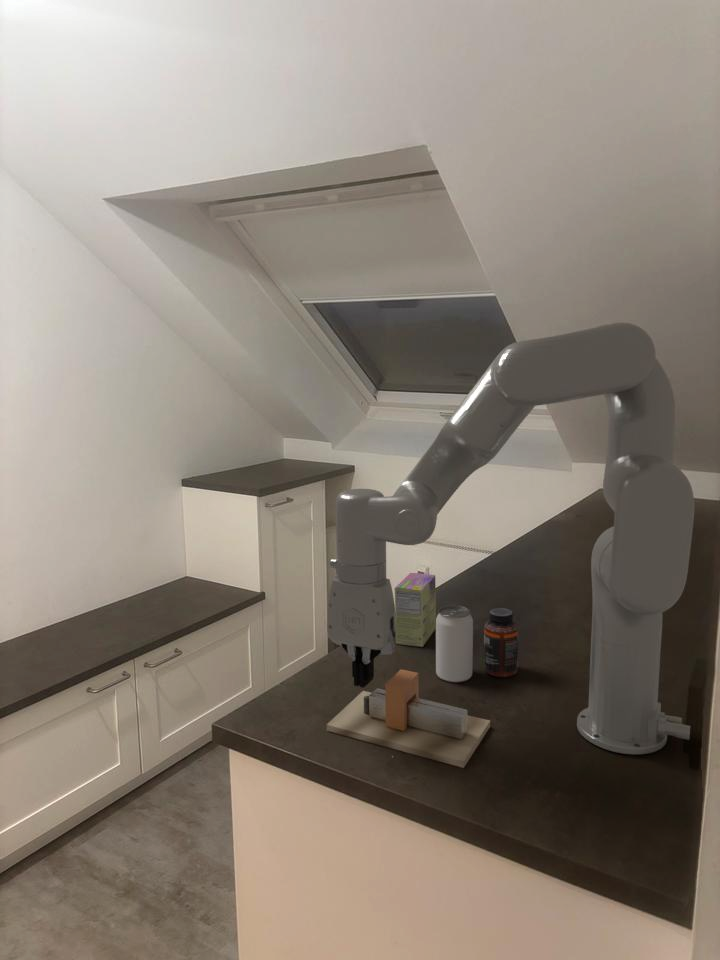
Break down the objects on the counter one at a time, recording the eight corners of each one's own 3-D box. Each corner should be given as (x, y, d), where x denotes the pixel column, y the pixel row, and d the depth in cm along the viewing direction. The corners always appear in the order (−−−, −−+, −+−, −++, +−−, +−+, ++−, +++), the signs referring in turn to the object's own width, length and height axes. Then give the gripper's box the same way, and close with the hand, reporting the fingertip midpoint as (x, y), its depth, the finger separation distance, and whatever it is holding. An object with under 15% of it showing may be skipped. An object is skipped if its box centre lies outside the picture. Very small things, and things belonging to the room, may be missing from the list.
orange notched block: (385, 726, 103) (385, 684, 102) (401, 709, 108) (400, 669, 107) (403, 730, 102) (403, 688, 101) (418, 713, 107) (418, 672, 106)
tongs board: (326, 730, 105) (326, 709, 104) (363, 696, 115) (362, 676, 115) (463, 768, 95) (463, 744, 94) (490, 726, 105) (490, 705, 104)
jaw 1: (369, 716, 106) (369, 695, 106) (372, 712, 107) (372, 692, 107) (461, 739, 99) (461, 717, 99) (464, 735, 100) (464, 713, 100)
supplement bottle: (522, 668, 124) (524, 609, 122) (510, 681, 119) (511, 620, 117) (491, 661, 127) (492, 603, 125) (478, 673, 123) (479, 613, 121)
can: (428, 675, 122) (428, 611, 120) (451, 663, 127) (451, 601, 125) (457, 687, 118) (457, 621, 116) (479, 674, 122) (480, 610, 120)
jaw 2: (373, 711, 108) (373, 691, 107) (377, 708, 109) (377, 688, 108) (464, 734, 100) (464, 713, 100) (467, 731, 101) (467, 709, 101)
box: (410, 625, 145) (409, 571, 143) (436, 628, 143) (436, 574, 141) (394, 644, 136) (394, 587, 134) (422, 648, 134) (422, 590, 132)
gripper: (306, 571, 104) (309, 683, 108) (395, 584, 97) (396, 704, 101) (331, 558, 111) (333, 664, 114) (416, 570, 104) (416, 682, 107)
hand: (363, 682), depth 107 cm, fingers closed
